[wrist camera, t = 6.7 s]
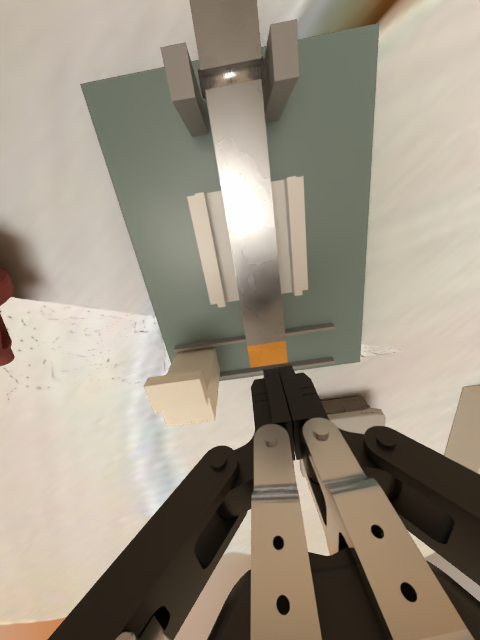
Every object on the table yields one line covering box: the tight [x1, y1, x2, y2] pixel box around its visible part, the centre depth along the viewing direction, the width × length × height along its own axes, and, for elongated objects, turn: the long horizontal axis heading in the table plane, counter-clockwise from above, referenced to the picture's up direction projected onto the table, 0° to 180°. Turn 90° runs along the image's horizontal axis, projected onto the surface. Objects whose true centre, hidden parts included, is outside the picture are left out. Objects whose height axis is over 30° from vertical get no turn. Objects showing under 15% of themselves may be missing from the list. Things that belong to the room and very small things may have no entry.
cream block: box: [144, 346, 220, 427], centre depth 21 cm, size 5×4×8 cm
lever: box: [190, 0, 288, 368], centre depth 15 cm, size 22×3×2 cm, turn 9°
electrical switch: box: [299, 396, 385, 478], centre depth 29 cm, size 9×5×9 cm
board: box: [80, 19, 379, 381], centre depth 19 cm, size 26×20×7 cm
